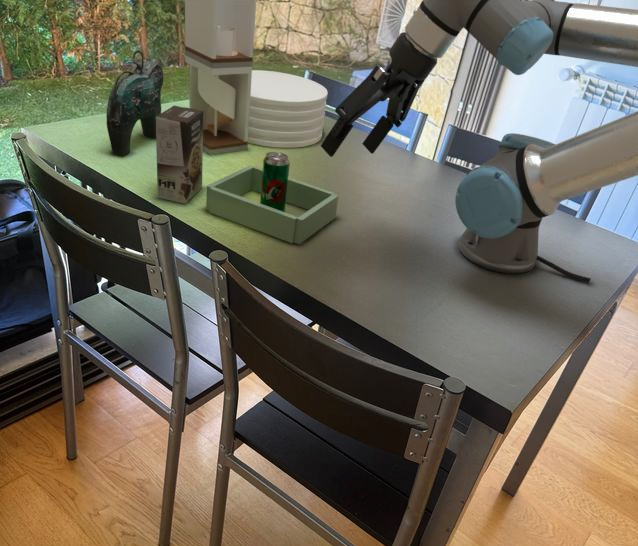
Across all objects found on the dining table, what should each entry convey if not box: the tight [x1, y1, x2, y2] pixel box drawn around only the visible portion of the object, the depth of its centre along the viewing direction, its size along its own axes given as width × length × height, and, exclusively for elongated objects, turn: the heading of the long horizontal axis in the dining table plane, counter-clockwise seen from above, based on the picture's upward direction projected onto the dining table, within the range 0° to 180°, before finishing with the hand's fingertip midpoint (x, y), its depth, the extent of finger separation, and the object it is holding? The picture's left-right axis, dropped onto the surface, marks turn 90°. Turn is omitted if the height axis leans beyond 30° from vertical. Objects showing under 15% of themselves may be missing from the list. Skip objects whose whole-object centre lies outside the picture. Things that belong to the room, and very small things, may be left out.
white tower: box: [184, 0, 257, 156], centre depth 138 cm, size 11×11×35 cm
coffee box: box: [155, 105, 204, 205], centre depth 119 cm, size 9×6×16 cm
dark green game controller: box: [105, 49, 164, 157], centre depth 136 cm, size 20×6×20 cm, turn 164°
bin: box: [205, 165, 340, 245], centre depth 120 cm, size 21×16×5 cm
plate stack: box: [247, 69, 329, 149], centre depth 160 cm, size 28×28×12 cm
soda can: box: [259, 151, 291, 213], centre depth 118 cm, size 5×5×12 cm
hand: (347, 150), depth 109 cm, fingers open, 13 cm apart
